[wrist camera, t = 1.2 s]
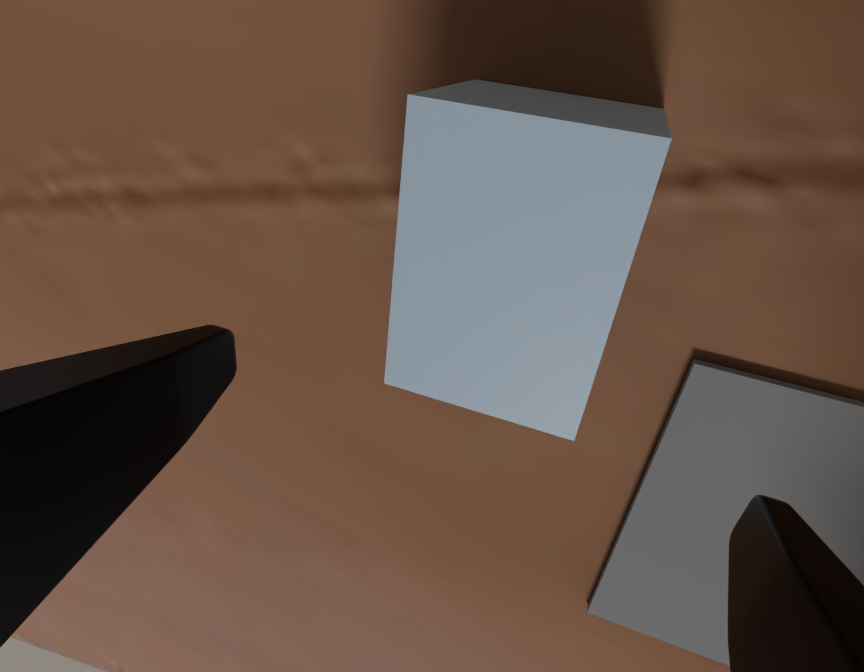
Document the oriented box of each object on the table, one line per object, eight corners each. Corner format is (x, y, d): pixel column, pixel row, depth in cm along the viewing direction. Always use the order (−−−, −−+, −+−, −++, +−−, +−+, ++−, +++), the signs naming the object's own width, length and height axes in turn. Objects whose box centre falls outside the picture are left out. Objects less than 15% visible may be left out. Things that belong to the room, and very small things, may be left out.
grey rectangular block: (591, 343, 22) (574, 441, 17) (444, 305, 24) (384, 383, 18) (664, 108, 18) (672, 138, 12) (475, 79, 19) (407, 94, 14)
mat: (929, 733, 25) (933, 742, 25) (587, 606, 29) (586, 612, 29) (1218, 493, 17) (1230, 501, 17) (693, 358, 21) (694, 363, 21)
